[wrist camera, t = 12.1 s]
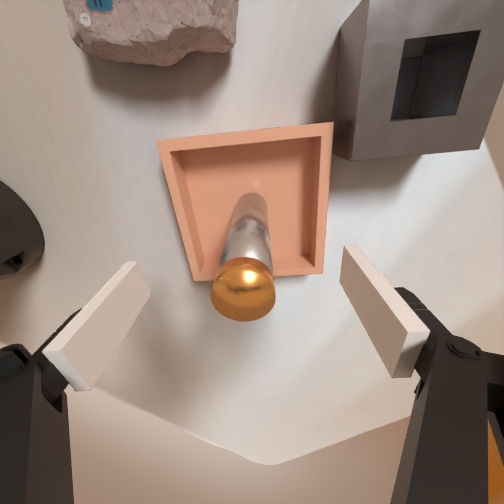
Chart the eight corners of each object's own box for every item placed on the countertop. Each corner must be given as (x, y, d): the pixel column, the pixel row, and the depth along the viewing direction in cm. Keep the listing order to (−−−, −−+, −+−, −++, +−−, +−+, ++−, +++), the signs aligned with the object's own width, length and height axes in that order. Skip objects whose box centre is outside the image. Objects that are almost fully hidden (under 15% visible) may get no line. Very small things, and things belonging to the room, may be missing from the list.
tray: (200, 266, 31) (193, 281, 28) (169, 138, 24) (155, 140, 21) (316, 258, 30) (322, 273, 27) (323, 122, 23) (333, 121, 19)
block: (331, 153, 24) (351, 161, 19) (340, 27, 19) (371, -12, 14) (429, 144, 23) (478, 149, 18) (464, 10, 18) (546, -37, 13)
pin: (238, 223, 27) (216, 322, 14) (234, 193, 26) (205, 273, 12) (267, 220, 27) (276, 319, 13) (265, 191, 25) (273, 269, 12)
